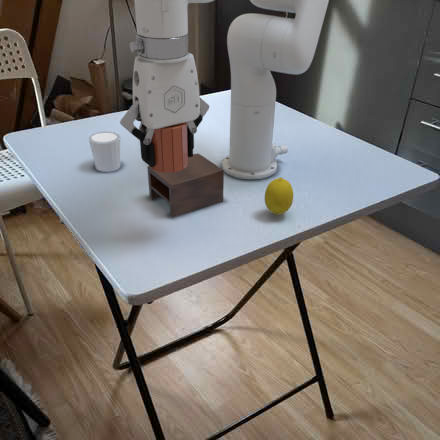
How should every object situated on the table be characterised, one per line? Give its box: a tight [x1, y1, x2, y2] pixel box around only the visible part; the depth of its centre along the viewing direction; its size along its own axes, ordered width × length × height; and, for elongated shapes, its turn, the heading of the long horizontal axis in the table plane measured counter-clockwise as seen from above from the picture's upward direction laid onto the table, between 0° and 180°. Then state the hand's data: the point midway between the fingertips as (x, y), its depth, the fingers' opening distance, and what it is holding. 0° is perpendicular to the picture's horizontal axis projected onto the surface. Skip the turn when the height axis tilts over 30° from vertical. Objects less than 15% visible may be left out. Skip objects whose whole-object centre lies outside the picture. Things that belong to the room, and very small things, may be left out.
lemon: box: [264, 177, 294, 216], centre depth 101 cm, size 6×6×8 cm
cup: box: [148, 123, 188, 173], centre depth 87 cm, size 7×7×8 cm
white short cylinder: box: [88, 131, 122, 173], centre depth 117 cm, size 7×7×7 cm
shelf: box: [146, 152, 225, 218], centre depth 105 cm, size 12×10×7 cm
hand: (168, 158), depth 89 cm, fingers closed on cup, 6 cm apart
